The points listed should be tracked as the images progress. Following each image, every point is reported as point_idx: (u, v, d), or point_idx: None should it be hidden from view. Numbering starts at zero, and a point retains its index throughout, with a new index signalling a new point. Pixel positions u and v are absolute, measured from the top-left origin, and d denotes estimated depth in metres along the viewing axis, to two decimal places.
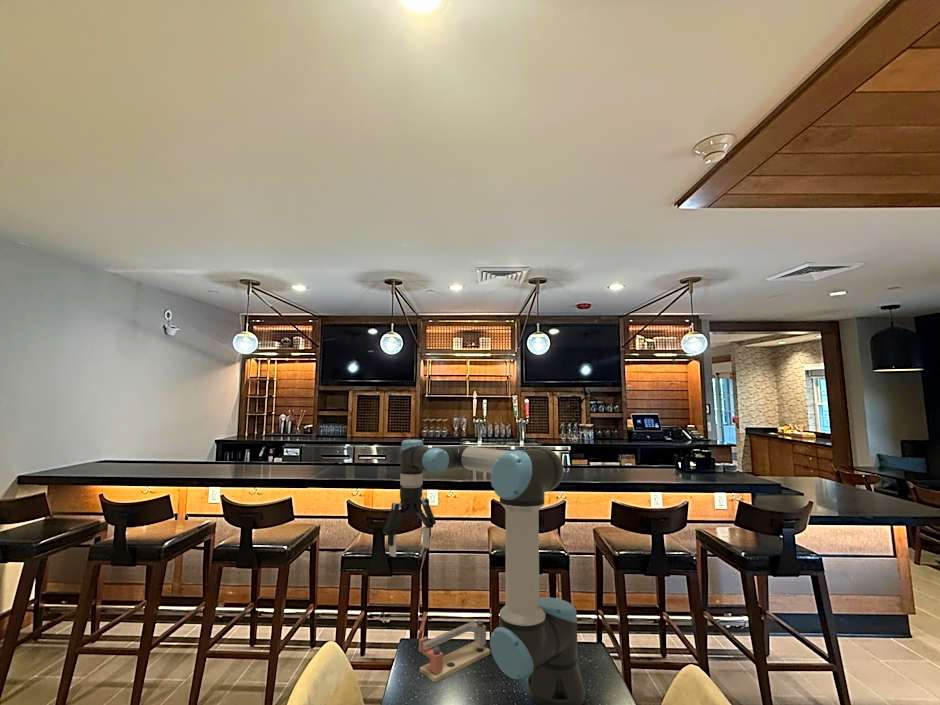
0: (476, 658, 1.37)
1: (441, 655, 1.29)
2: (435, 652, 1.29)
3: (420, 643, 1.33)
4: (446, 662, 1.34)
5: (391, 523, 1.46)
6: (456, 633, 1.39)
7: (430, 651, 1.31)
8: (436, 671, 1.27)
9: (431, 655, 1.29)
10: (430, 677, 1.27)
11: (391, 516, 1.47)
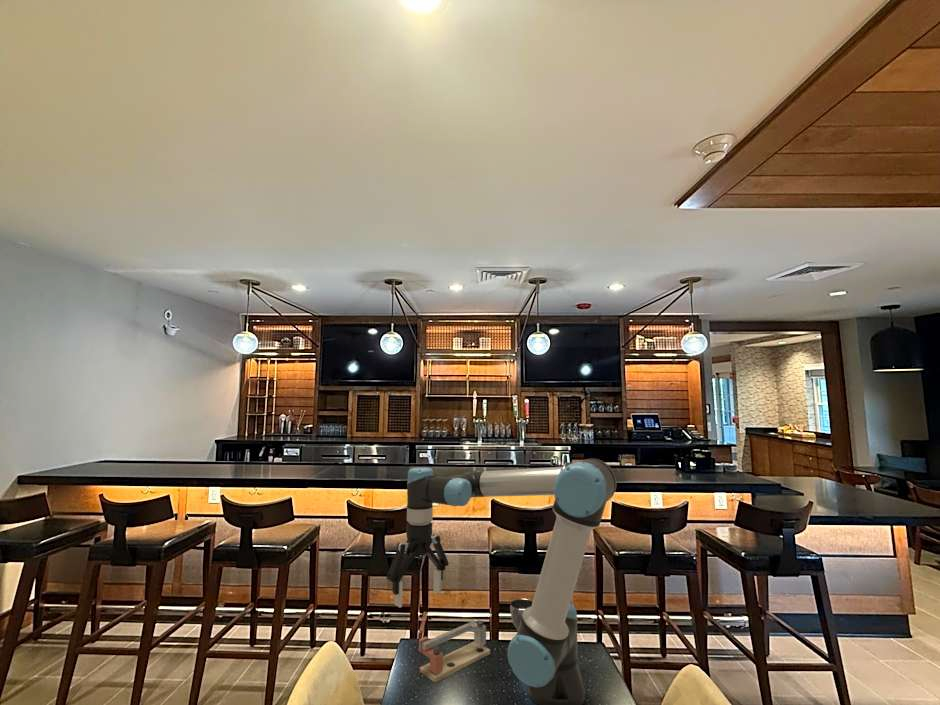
0: (476, 658, 1.37)
1: (441, 655, 1.29)
2: (435, 652, 1.29)
3: (420, 643, 1.33)
4: (446, 662, 1.34)
5: (396, 568, 1.25)
6: (456, 633, 1.39)
7: (430, 651, 1.31)
8: (436, 671, 1.27)
9: (431, 655, 1.29)
10: (430, 677, 1.27)
11: (396, 559, 1.26)
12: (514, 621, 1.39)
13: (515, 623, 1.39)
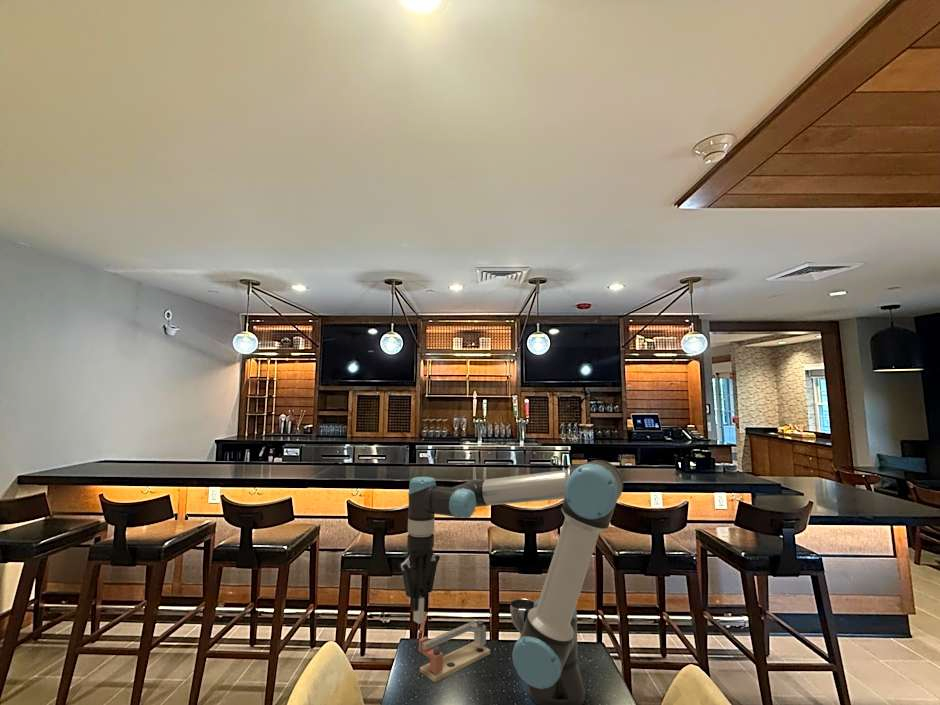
0: (476, 658, 1.37)
1: (441, 655, 1.29)
2: (435, 652, 1.29)
3: (420, 643, 1.33)
4: (446, 662, 1.34)
5: (410, 586, 1.24)
6: (456, 633, 1.39)
7: (430, 651, 1.31)
8: (436, 671, 1.27)
9: (431, 655, 1.29)
10: (430, 677, 1.27)
11: (406, 579, 1.24)
12: (514, 621, 1.39)
13: (515, 623, 1.39)
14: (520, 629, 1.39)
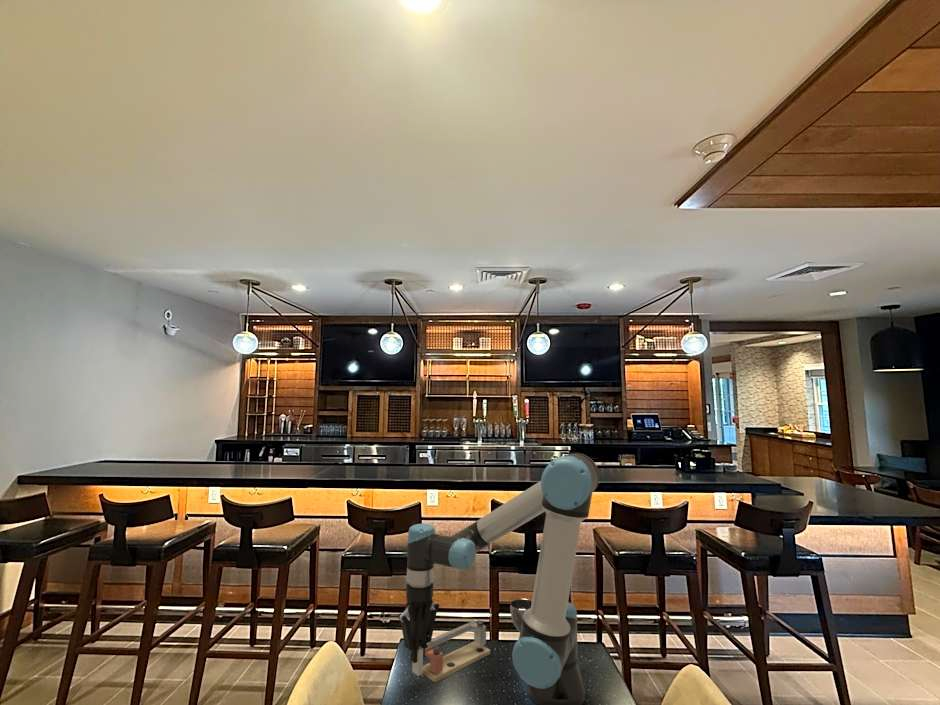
0: (476, 658, 1.37)
1: (441, 655, 1.29)
2: (435, 652, 1.29)
3: None
4: (446, 662, 1.34)
5: (409, 638, 1.22)
6: (456, 633, 1.39)
7: (430, 651, 1.31)
8: (436, 671, 1.27)
9: (431, 655, 1.29)
10: (430, 677, 1.27)
11: (405, 630, 1.23)
12: (514, 621, 1.39)
13: (515, 623, 1.39)
14: (520, 629, 1.39)
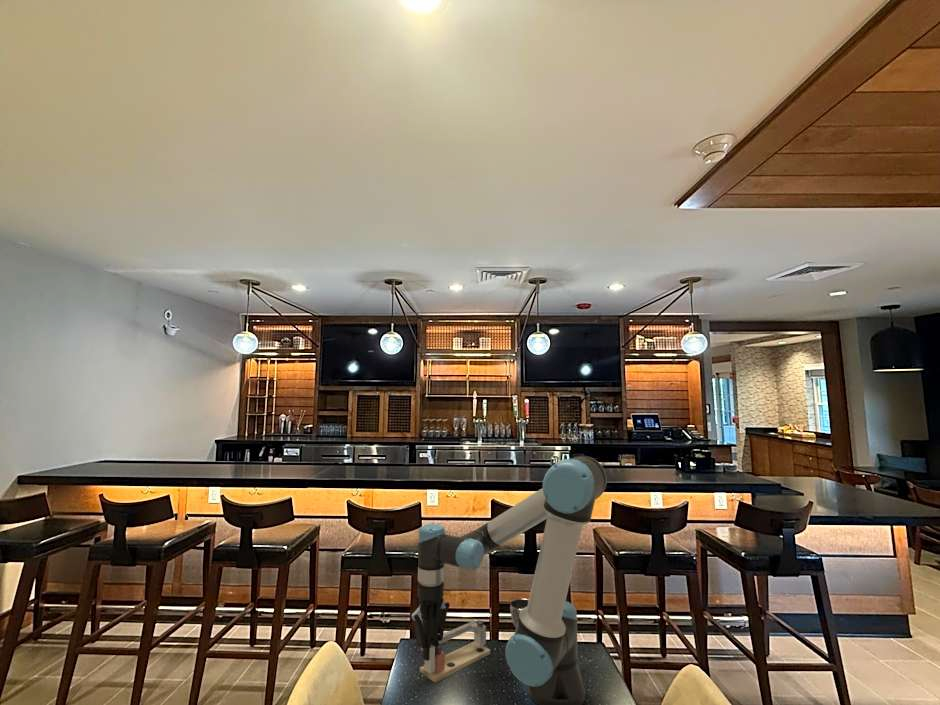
0: (476, 658, 1.37)
1: (443, 654, 1.29)
2: (437, 651, 1.29)
3: None
4: (446, 662, 1.34)
5: (421, 636, 1.25)
6: (456, 633, 1.39)
7: None
8: (438, 670, 1.28)
9: None
10: (430, 677, 1.27)
11: (417, 629, 1.25)
12: (514, 621, 1.39)
13: (515, 623, 1.39)
14: None
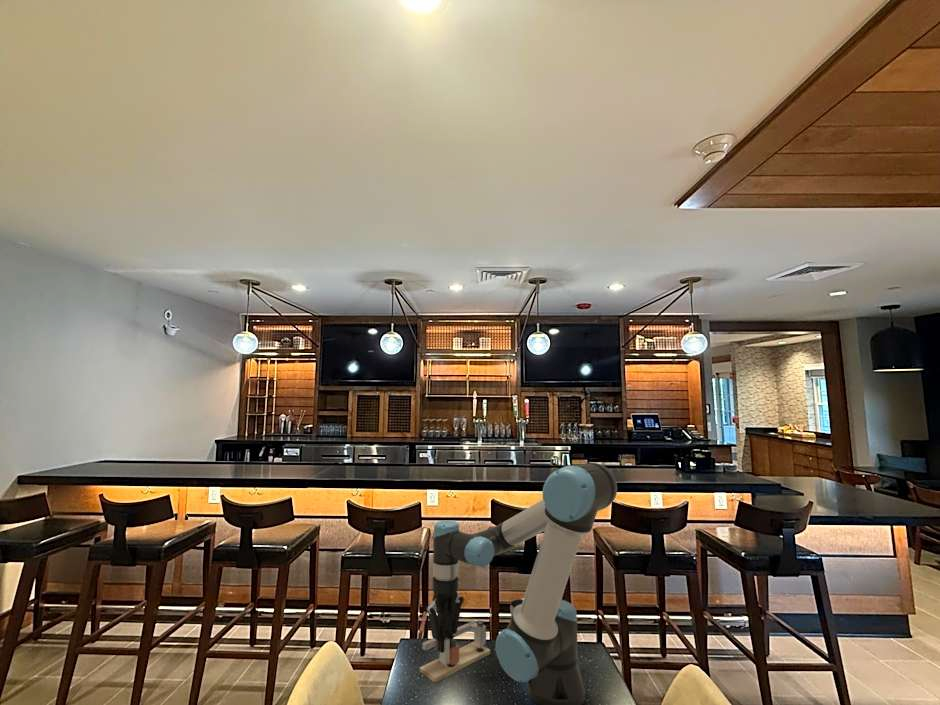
0: (476, 658, 1.37)
1: (457, 647, 1.33)
2: (451, 644, 1.33)
3: None
4: None
5: (437, 629, 1.29)
6: (456, 633, 1.39)
7: None
8: (453, 663, 1.31)
9: None
10: (430, 677, 1.27)
11: (432, 622, 1.29)
12: None
13: None
14: None
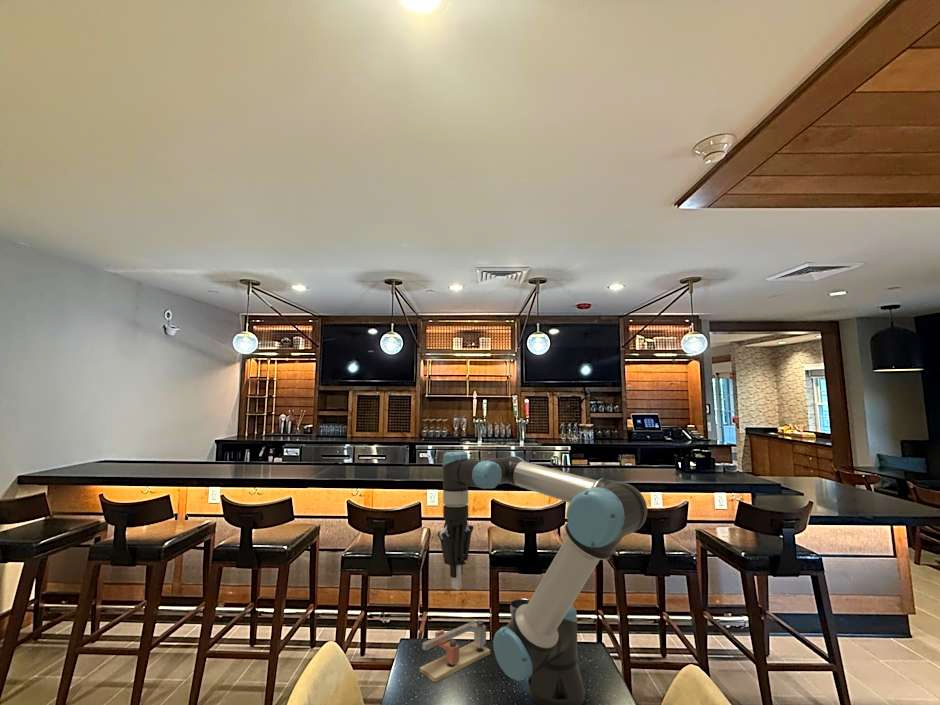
0: (476, 658, 1.37)
1: (457, 647, 1.33)
2: (452, 644, 1.33)
3: (436, 636, 1.37)
4: (446, 662, 1.34)
5: (449, 553, 1.30)
6: (456, 633, 1.39)
7: (446, 643, 1.35)
8: (453, 663, 1.31)
9: (448, 647, 1.33)
10: (430, 677, 1.27)
11: (445, 547, 1.31)
12: None
13: None
14: None
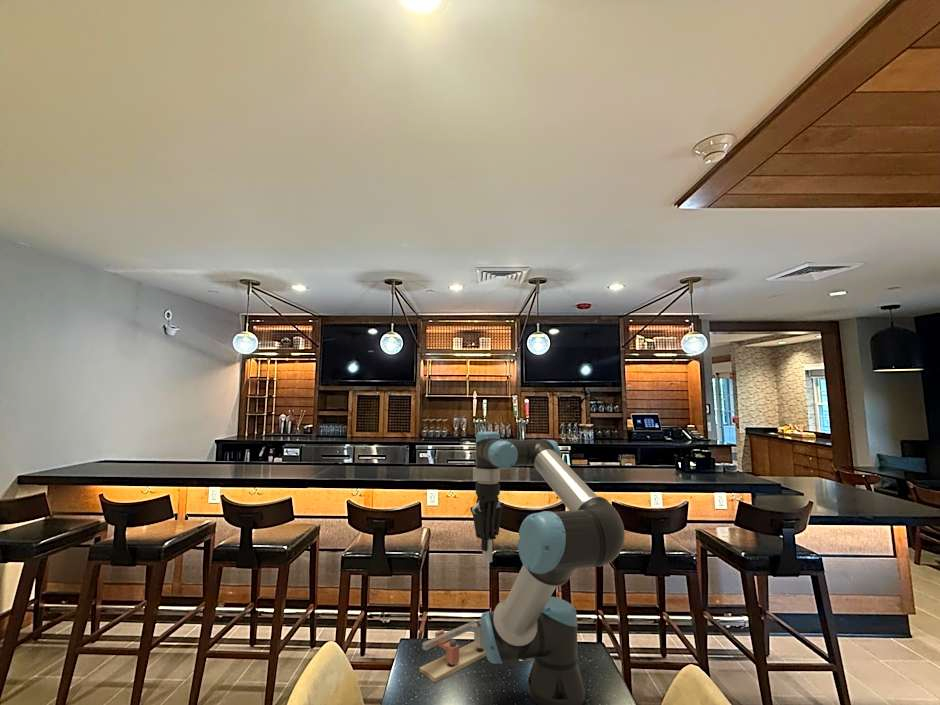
0: (476, 658, 1.37)
1: (457, 647, 1.33)
2: (452, 644, 1.33)
3: (436, 636, 1.37)
4: (446, 662, 1.34)
5: (481, 528, 1.36)
6: (456, 633, 1.39)
7: (446, 643, 1.35)
8: (453, 663, 1.31)
9: (448, 647, 1.33)
10: (430, 677, 1.27)
11: (477, 521, 1.36)
12: None
13: None
14: None
